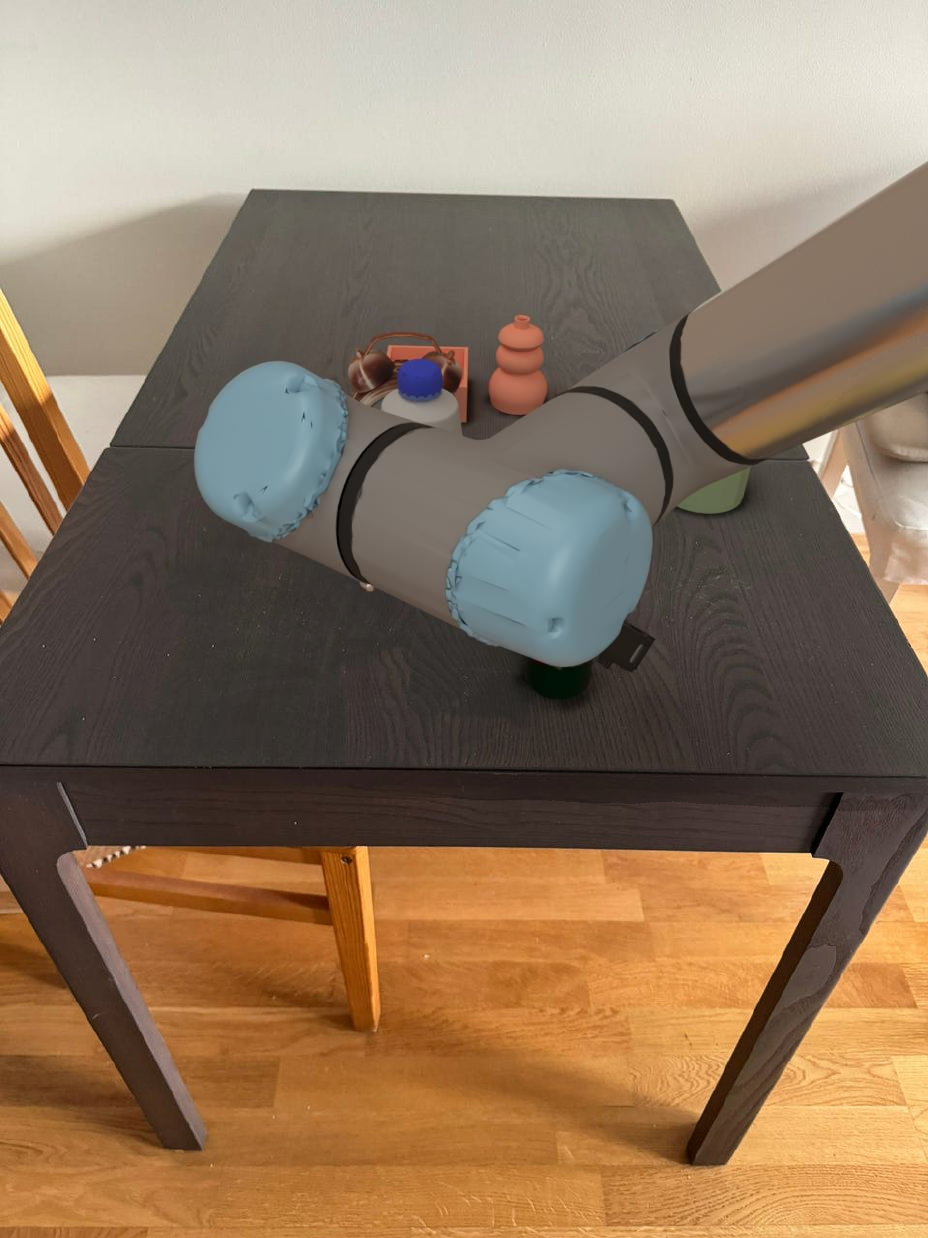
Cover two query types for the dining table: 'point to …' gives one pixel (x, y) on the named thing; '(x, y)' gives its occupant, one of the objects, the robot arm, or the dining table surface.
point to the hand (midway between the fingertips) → (589, 618)
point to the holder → (718, 495)
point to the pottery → (500, 368)
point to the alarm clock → (394, 370)
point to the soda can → (557, 679)
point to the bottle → (423, 397)
